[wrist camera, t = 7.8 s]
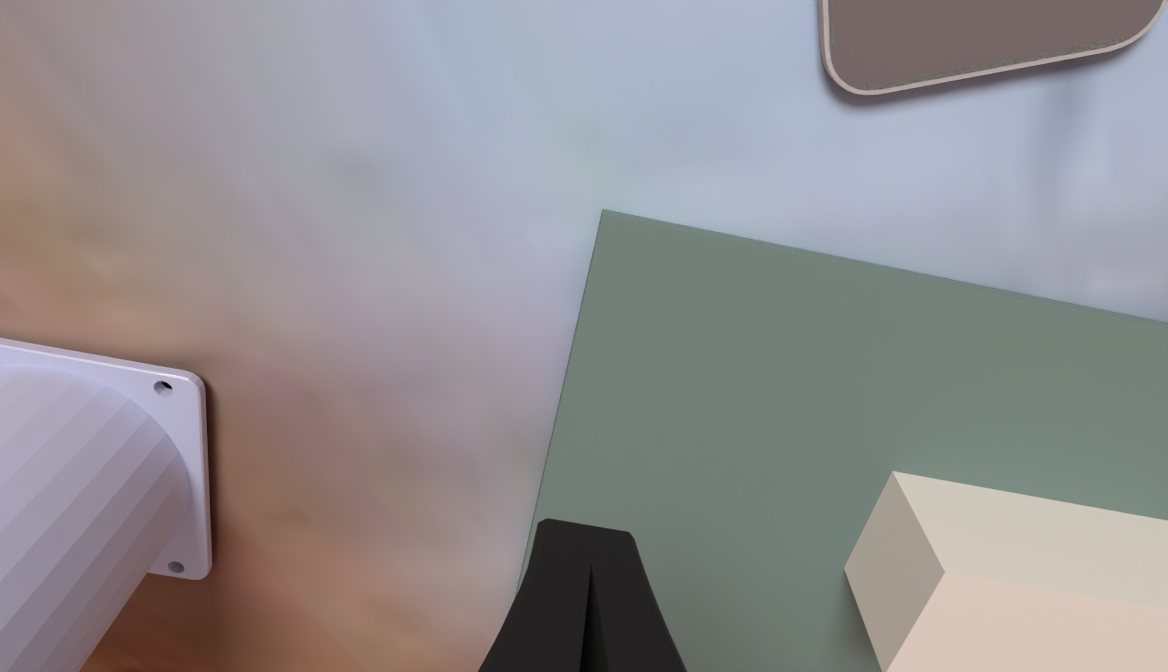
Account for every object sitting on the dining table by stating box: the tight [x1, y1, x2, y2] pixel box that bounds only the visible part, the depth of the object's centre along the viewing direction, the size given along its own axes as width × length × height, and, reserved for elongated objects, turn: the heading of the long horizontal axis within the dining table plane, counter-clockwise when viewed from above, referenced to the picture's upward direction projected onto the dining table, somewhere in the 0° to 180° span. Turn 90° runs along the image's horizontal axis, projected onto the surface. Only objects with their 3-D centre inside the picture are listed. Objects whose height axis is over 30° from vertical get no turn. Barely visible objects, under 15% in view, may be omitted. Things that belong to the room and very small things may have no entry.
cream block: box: [844, 471, 1168, 672], centre depth 22 cm, size 4×4×10 cm
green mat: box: [515, 209, 1168, 672], centre depth 24 cm, size 22×16×1 cm
